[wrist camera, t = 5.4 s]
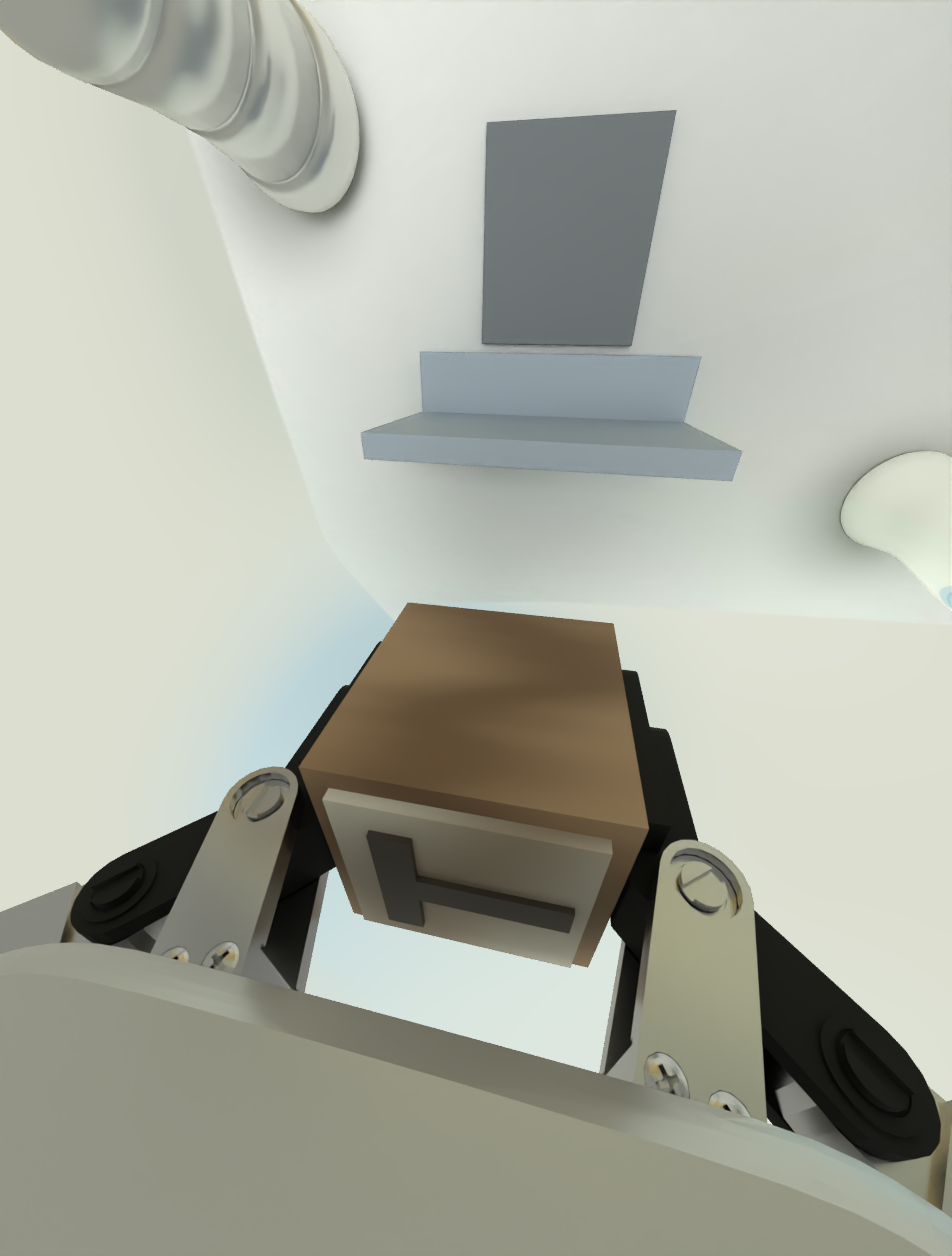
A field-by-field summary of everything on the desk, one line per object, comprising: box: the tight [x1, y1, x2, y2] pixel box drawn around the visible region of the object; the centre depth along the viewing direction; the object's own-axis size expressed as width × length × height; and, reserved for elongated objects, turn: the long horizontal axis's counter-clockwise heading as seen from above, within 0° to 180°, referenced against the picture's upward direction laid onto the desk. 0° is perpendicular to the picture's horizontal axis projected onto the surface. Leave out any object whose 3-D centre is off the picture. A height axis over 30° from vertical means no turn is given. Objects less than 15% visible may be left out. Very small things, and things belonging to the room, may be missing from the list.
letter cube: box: [299, 603, 649, 968], centre depth 9 cm, size 5×5×5 cm
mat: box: [482, 110, 676, 346], centre depth 22 cm, size 9×9×1 cm
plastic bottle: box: [0, 0, 359, 213], centre depth 14 cm, size 6×7×20 cm
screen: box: [361, 352, 743, 481], centre depth 22 cm, size 17×5×11 cm, turn 88°
